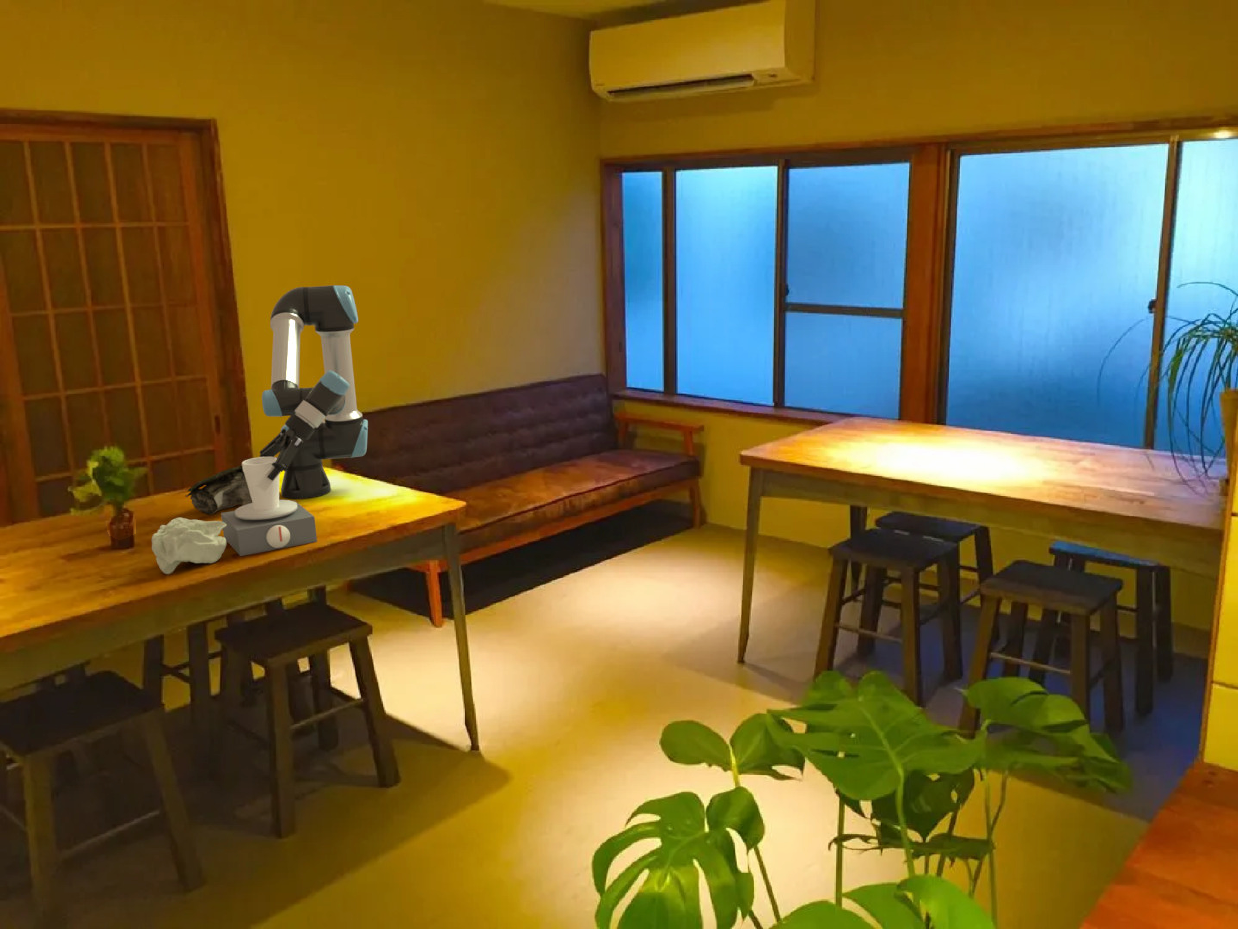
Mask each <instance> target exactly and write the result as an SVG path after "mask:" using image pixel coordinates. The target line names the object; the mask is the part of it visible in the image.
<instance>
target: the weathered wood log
mask: <svg viewBox="0 0 1238 929" xmlns="http://www.w3.org/2000/svg"><path fill="white" fill-rule="evenodd" d="M244 475H245V474H244V472H243V468H242V464H241V465H239V466H236V467H232V468H228V469H225V470H221V471H219V472H217V473H216V474H214V475H212V476H209V477H207V478H204V479H203V480H199V481H197V482H196V483H194V484H193V485H192V486H191V487H190V488H188V490H187V492H188V494H186V495H184V496H185V497H187V498H188V497H189V496H190V500H191V503H192V505H193V506H194V508H195V509H196V510H198V511H200V512H202V513H204V514H206V515H207V516H210V515H211V516H213V515H214V514H215V513H216V512H217V511H220V510H224V509H230V508H233V507H235V506H237V505H238V506H239V505H242V506H243V505H246V504H250V503H252V499H251V495H250V492H249V488H248V485H247V481H246V478H245V476H244Z"/></svg>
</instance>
